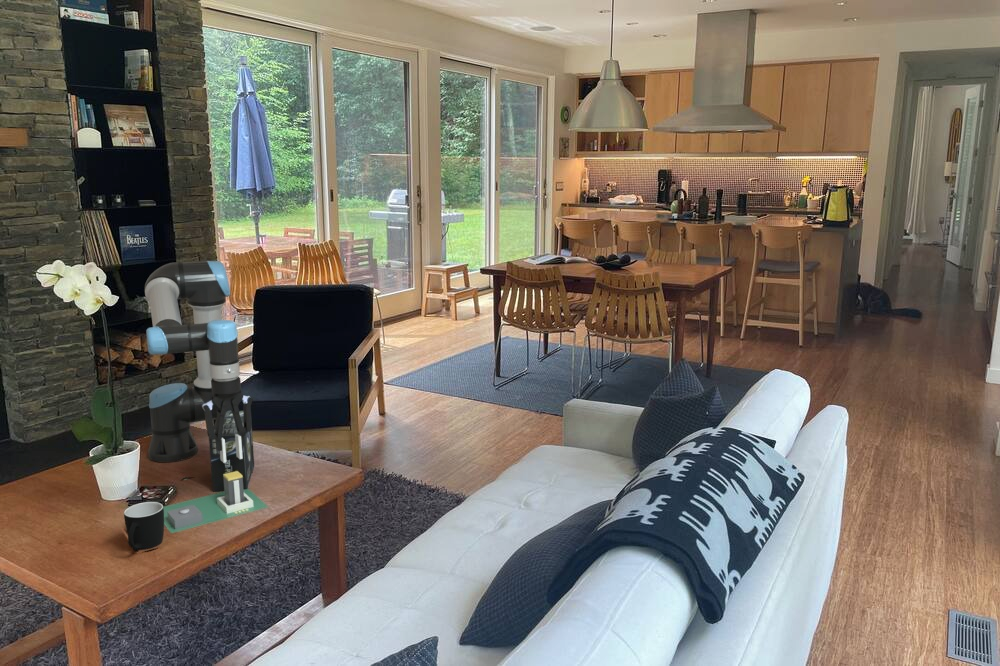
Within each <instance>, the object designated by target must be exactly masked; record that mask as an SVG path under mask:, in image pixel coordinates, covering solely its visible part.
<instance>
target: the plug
mask: <svg viewBox="0 0 1000 666" xmlns="http://www.w3.org/2000/svg"><path fill="white" fill-rule="evenodd" d="M223 479H224V491H223V492H225V503H226V504H227V505H228V506H230V505H234V504H238V503H241V502H244V490H243V476H242V475H241V474H240V473H239V472H238V471H235V472H231V473H227V474H223Z"/></svg>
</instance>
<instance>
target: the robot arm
mask: <svg viewBox="0 0 1000 666" xmlns="http://www.w3.org/2000/svg"><path fill="white" fill-rule="evenodd" d="M144 295H145V298H146V300H147V302H149V305H150V315H151V322H152V327H148V328H147V329H146V330H145V331H146V332H145V333H146V342H147V344H146V345H147V352H148V354H150V355H152V356H153V355H156V356H157V355H163V356H164V355H170V354H178V353H179V354H180V353H189V352H190V353H191V352H193V353H194V352H196V353H195V354H196V367H197V369H196V370H197V377H196V378H195V379H194V380H193V386H190V387H188V385H187V384H186V383H182V382H174V383H169V384H164V385H161V386H160V387H159V386H158V387H157V388H155V389H153V390H152V391H151V392H150V393H149V397H148V400H149V404H148V407H149V410H150V411H149V412H150V423H151V437H150V442H149V446H148V452H147V454H148V459H149V460H150V461H153V462H155V463H172V462H174V463H175V462H179V461H183V460H187V459H190V458H192V457H194V456H196V455H197V453H198V452H199V451H198V444H197V442H196V438H195V437H194V435H193V432H192V430H191V425H190V424H191V423H194V422H195V423H197V422H204V421H205V425H206V433H207V437H208V439H209V438H210V439H212V440H213V439H215V441H216V449H217V450H218V451H220V459H221V461H222V462H223V463H226V448H225V439H223V438H222V433H223V425H224V417H225V414H226V412H229V411H232V414H233V418H234V421H235V425H236V428H237V432H238V434H235V442H236V455H237V457H238V458H239V459H243V457H242V446H244V445H245V437H244V436H245V435H246V433H247V432H250V431H251V420H252V408H251V407H252V406H251V405H252V404H253V400H254V399H253V397H252V396H250V395H244V394H243V392H242V385H241V384H242V382H241V377H240V375H241V370H240V359H239V343H238V340H239V339H238V335H239V334H238V333H239V332H238V329H237V323H236V322H235V321H234V320H230V319H223V315H222V308H223V306H224V305H225V304H226V303H227V302H226V301H227V300H226V298H228V297H230V296H231V288H230V284H229V278H228V275H227V270H226V267H225V265H224V263H222V262H221V261H217V260H201V261H200V260H199V261H186V262H183V261H181V262H169V263H166V264H163V265H162V266H160V267H159V268H157V269H155V270H154V271H153V272H152V273H151V274H150V275H149V277H148V278H147V280H146V282H145V284H144ZM178 300H187V301H186V302H187V305H188V306H189V307H191V308H192V311H193V323H190V324H182V319H181V313H180V308H179V302H178ZM241 402H242V403H243V405H242V406H243V408H242V409H243V410H242V411H243V415H244V428H243V425H242V421H241V417H240V414H239V411H240V409H239V406H240V404H241ZM214 420H215V422H216V428H215V433H214Z"/></svg>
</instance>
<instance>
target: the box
mask: <svg viewBox="0 0 1000 666" xmlns="http://www.w3.org/2000/svg"><path fill="white" fill-rule="evenodd" d="M239 414H240V417H241V421H242V425H243V428H244V415H243V410H239ZM213 425H214V433H215V428H216V421H215V422H214V423H213ZM235 434H238V432H237V428H236V425H235V421H234V418H233V414H232V411H229V412H226V414H225V417H224V425H223V433H222V438H223V439H225V448H226V463H223V462H222V461H221V459H220V451H218V450H217V449H216V441H215V439H213V440H212V439H210V438H209V437H208V445H209V446H208V447H209V458H210V469H211V471H210V473H211V483H212V493H221V492H224V479H223V474H227V473H231V472H235V471H238V472H239V473H240V474H241V475H242V476H243V490H245V489H249V485H250V482H251V481H250V480H251V477H252V474H253V472H254V467H255V457H254V453H255V452H254V440H253V439H254V437H253V424H252V419H251V431H250V432H247V433H246V435H245V436H244V437H245V445H244V446H242V457H243V459H239V458H238V457H237V455H236V442H235Z"/></svg>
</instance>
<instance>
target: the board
mask: <svg viewBox="0 0 1000 666" xmlns="http://www.w3.org/2000/svg"><path fill="white" fill-rule="evenodd" d="M266 508H269V505H267V504H266V503H265V502H264V501H263V500H262V499H260V498H259V497H258V496H257V495H256V494H255V492H253V491H252V490H251V489H250V488H248V489H245V490H244V502H241V503H238V504H234V505H230V506H228V505H227V504H226V503H225V492H224V491H223V492H215V493H214V494H208V495H205V496H201V497H196V498H193V499H189V500H185V501H181V502H177V503H172V504H169V505H163V509H164V527H166V529H167V530H168V532H169V533H170V534H174V533H178V532H181V531H185V530H188V529H192V528H195V527H199V526H200V527H201V526H203V525H206V524H207V525H208V524H210V523H215V522H220V521H221V520H226V519H229V518H230V519H231V518H233V517H237V516H242V515H244V514H249V513H252V512H255V511H259V510H263V509H266Z"/></svg>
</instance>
